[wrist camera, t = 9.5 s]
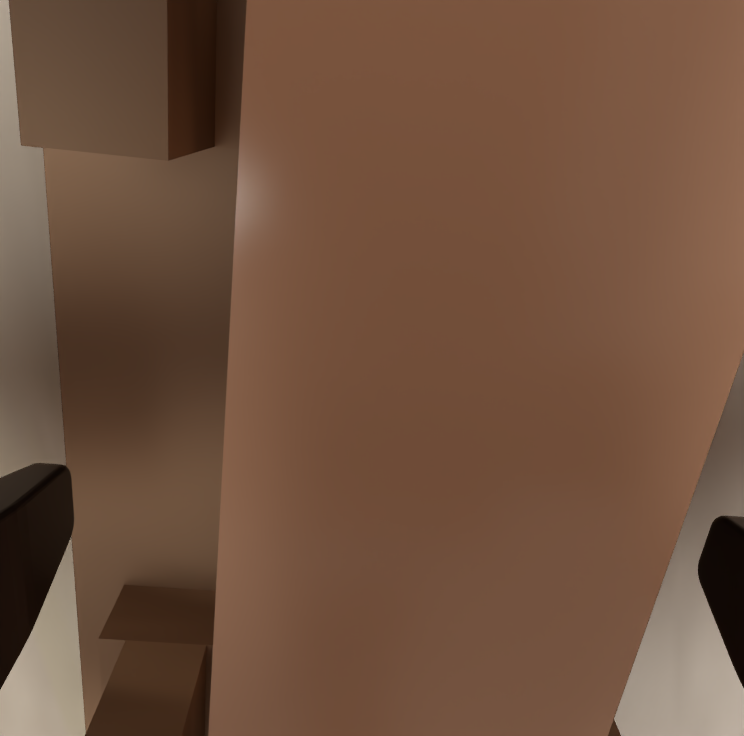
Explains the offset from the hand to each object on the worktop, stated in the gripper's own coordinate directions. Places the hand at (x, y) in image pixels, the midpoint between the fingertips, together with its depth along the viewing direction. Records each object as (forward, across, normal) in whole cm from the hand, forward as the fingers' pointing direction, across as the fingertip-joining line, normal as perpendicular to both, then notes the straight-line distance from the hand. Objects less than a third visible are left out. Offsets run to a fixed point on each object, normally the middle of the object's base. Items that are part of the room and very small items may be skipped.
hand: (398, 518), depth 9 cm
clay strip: (+2, 0, 0) cm, 2 cm away
